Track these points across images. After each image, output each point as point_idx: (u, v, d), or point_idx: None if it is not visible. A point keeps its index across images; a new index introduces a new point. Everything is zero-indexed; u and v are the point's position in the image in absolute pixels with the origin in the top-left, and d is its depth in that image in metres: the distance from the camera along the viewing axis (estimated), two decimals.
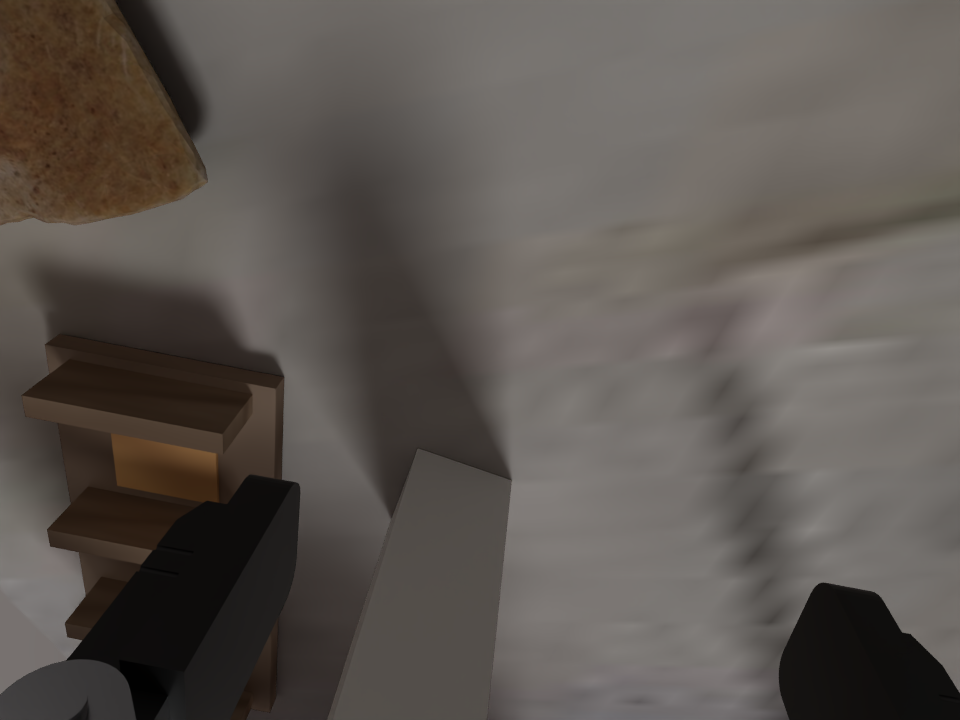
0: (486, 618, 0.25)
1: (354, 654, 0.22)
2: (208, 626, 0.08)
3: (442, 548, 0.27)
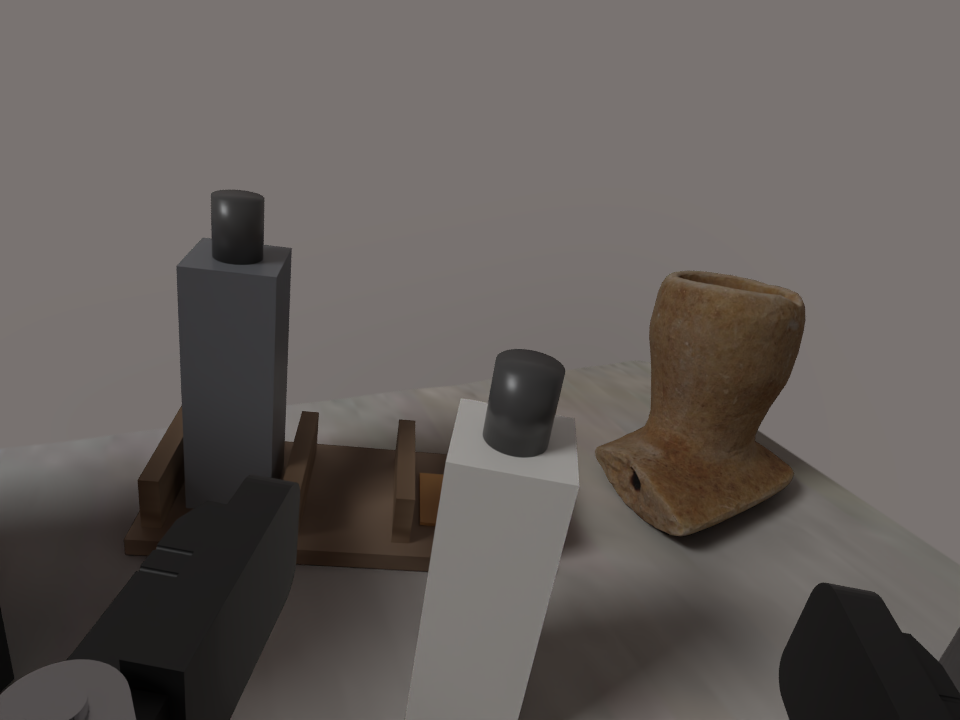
0: None
1: None
2: (208, 626, 0.08)
3: None
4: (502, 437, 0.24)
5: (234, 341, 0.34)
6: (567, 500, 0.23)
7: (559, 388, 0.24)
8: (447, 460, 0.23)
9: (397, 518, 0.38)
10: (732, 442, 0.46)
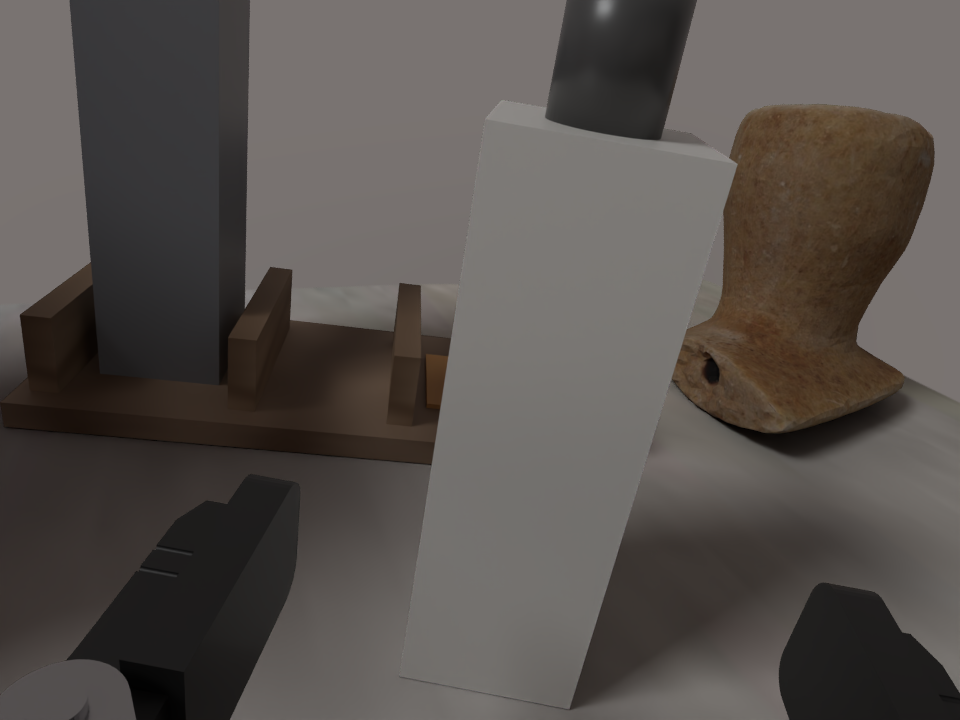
0: None
1: None
2: (208, 626, 0.08)
3: None
4: (586, 96, 0.13)
5: (159, 105, 0.23)
6: (711, 198, 0.13)
7: None
8: (488, 119, 0.12)
9: (395, 387, 0.27)
10: (836, 324, 0.35)
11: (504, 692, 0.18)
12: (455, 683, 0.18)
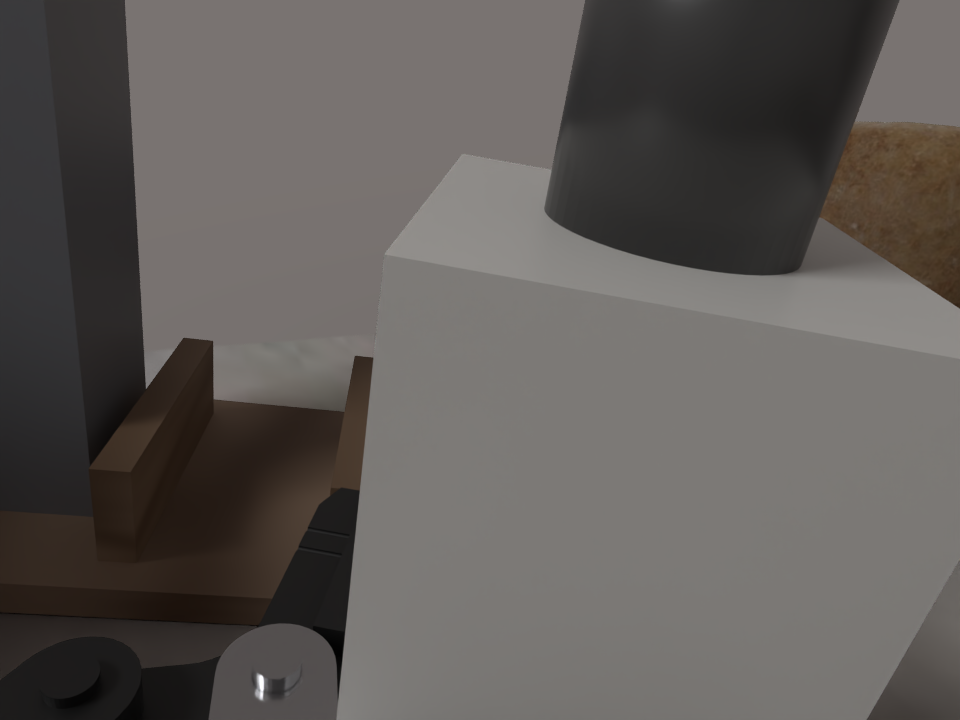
0: None
1: None
2: None
3: None
4: (645, 179, 0.05)
5: None
6: None
7: None
8: (394, 251, 0.05)
9: None
10: None
11: None
12: None
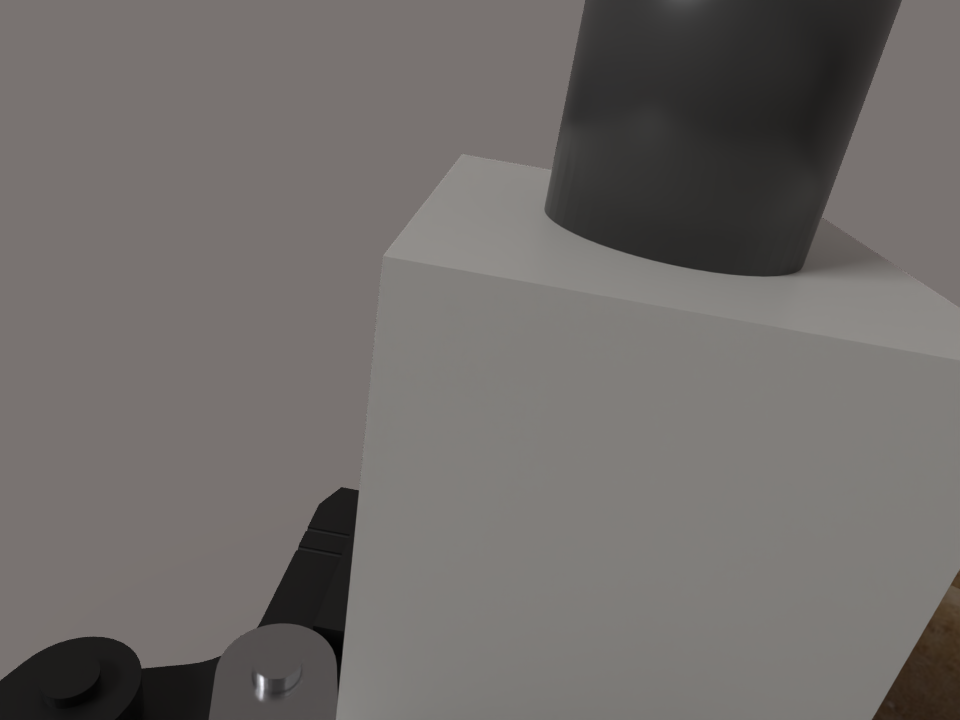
0: None
1: None
2: None
3: None
4: (646, 179, 0.05)
5: None
6: None
7: None
8: (393, 252, 0.05)
9: None
10: None
11: None
12: None
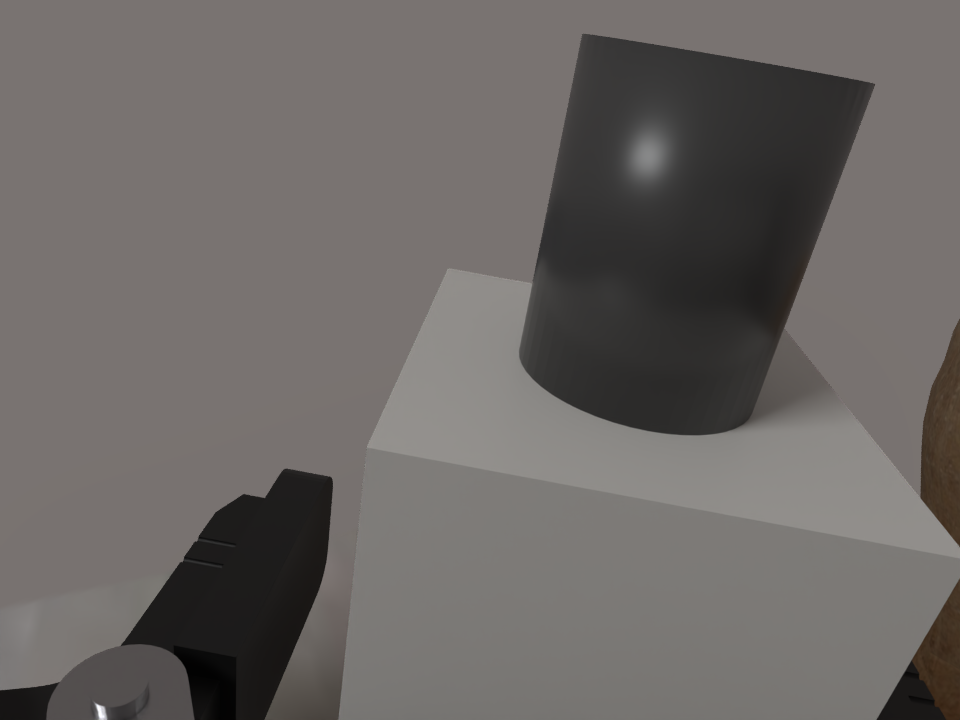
0: None
1: None
2: (255, 614, 0.08)
3: None
4: (605, 353, 0.06)
5: None
6: (897, 619, 0.05)
7: (852, 142, 0.06)
8: (376, 441, 0.05)
9: None
10: None
11: None
12: None
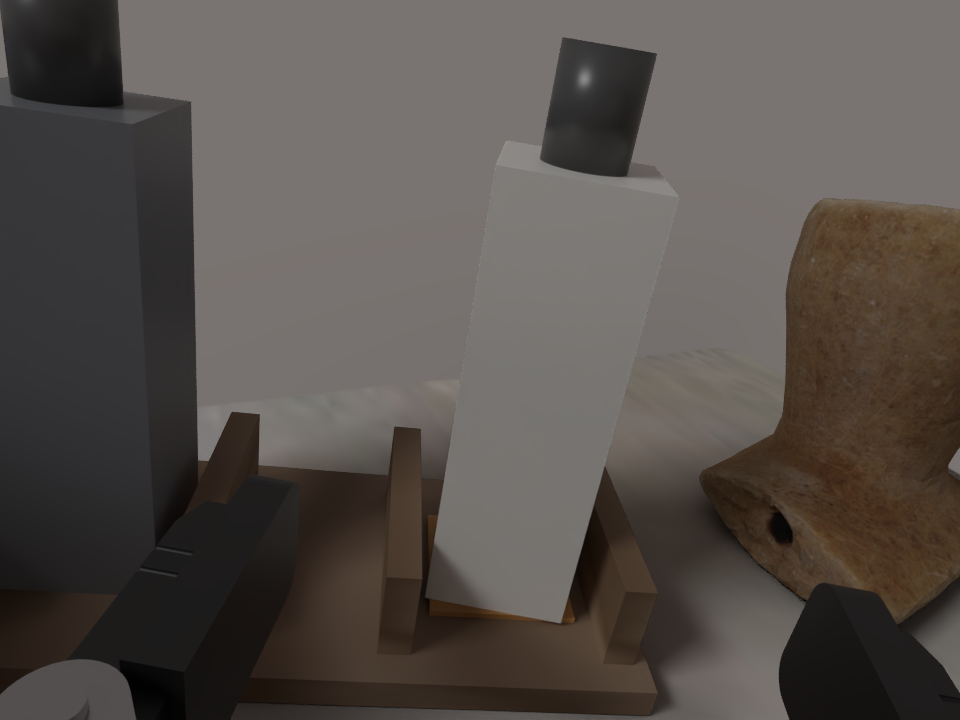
0: None
1: None
2: (208, 626, 0.08)
3: None
4: (570, 145, 0.18)
5: (56, 267, 0.17)
6: (661, 222, 0.17)
7: (650, 72, 0.17)
8: (497, 164, 0.17)
9: (388, 612, 0.20)
10: (930, 465, 0.29)
11: (508, 610, 0.23)
12: (469, 603, 0.23)
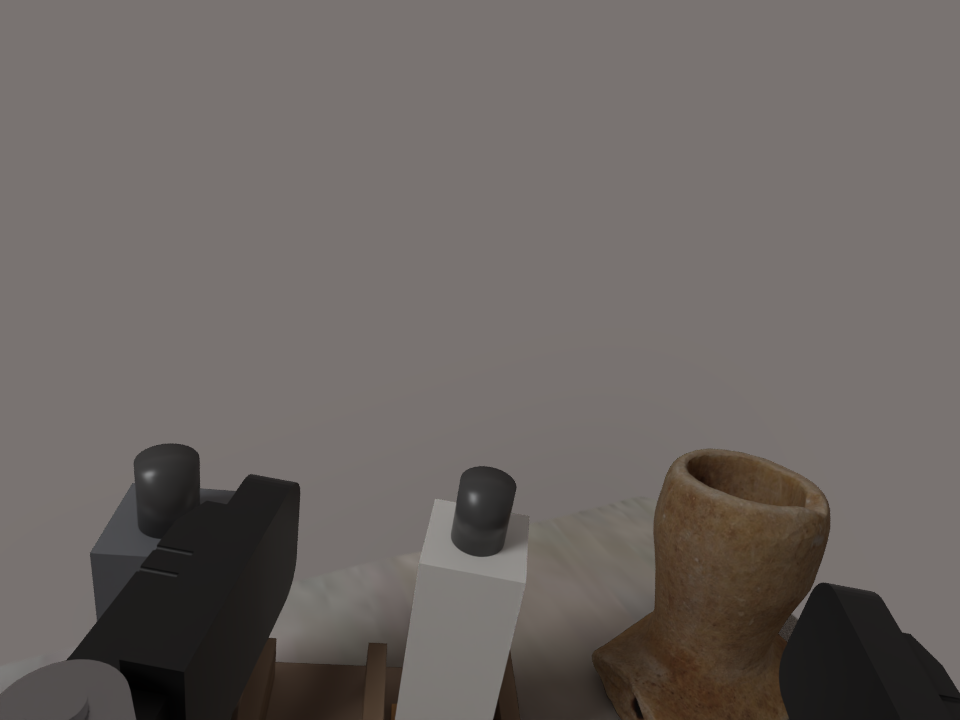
0: None
1: None
2: (208, 626, 0.08)
3: None
4: (465, 541, 0.30)
5: None
6: (516, 594, 0.29)
7: (511, 503, 0.29)
8: (420, 561, 0.29)
9: None
10: (747, 659, 0.41)
11: None
12: None
